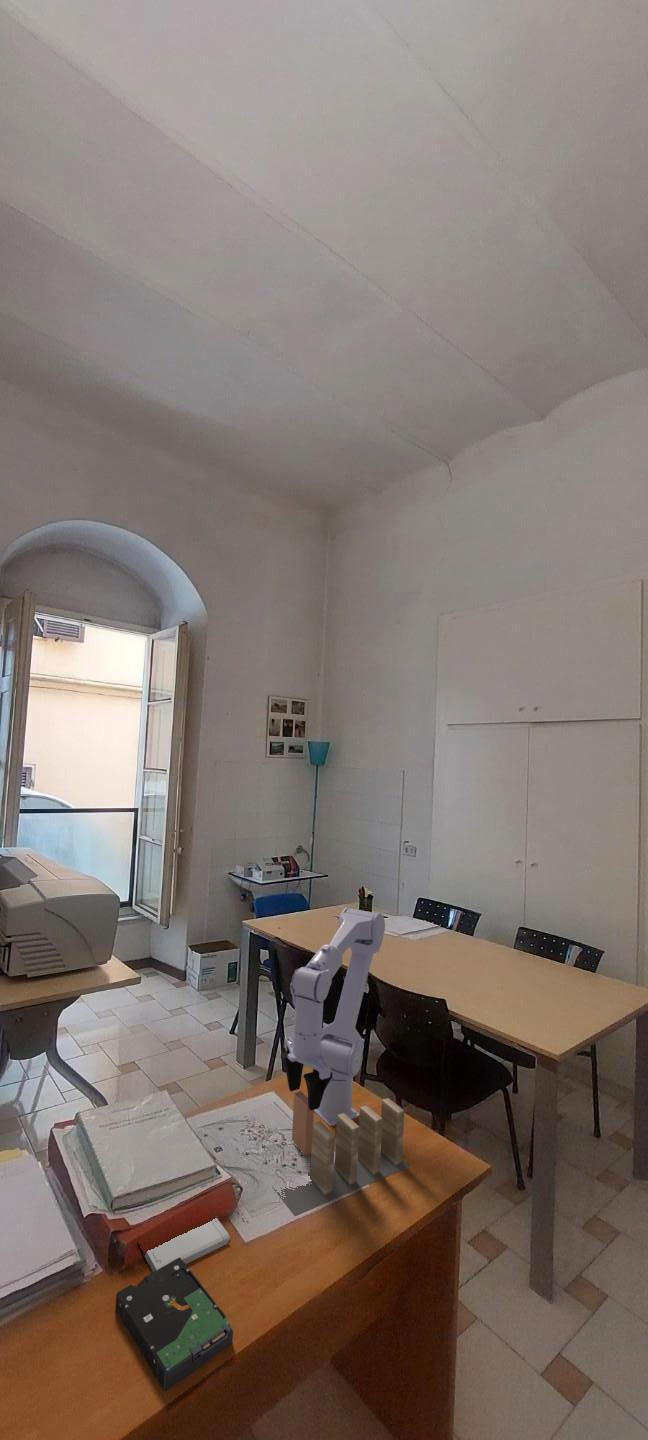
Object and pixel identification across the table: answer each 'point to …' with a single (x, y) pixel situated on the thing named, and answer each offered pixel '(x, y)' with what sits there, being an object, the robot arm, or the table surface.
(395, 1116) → the domino
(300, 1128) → the domino
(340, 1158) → the domino
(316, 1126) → the domino
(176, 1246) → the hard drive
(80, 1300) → the table surface
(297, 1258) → the table surface
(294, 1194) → the grey flat rectangular board
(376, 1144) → the domino
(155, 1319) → the disk drive
